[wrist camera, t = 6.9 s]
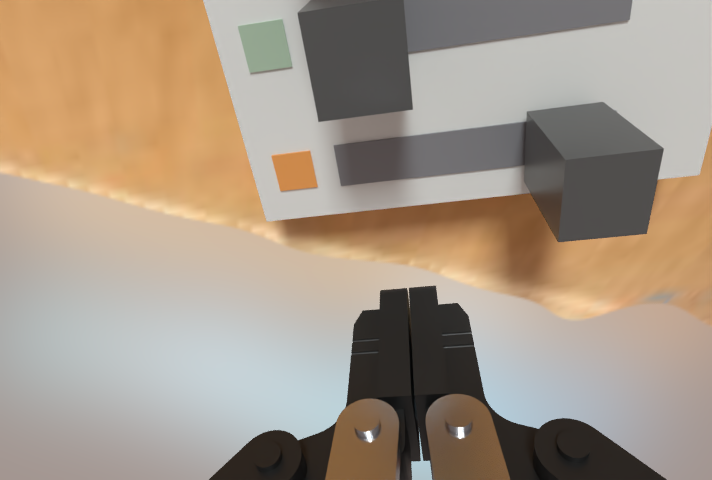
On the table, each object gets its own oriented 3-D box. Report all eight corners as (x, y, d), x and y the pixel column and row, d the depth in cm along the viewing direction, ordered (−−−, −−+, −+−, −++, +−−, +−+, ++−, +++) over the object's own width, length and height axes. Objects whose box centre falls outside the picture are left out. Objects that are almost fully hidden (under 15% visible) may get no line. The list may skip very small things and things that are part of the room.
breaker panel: (761, -315, 16) (1085, -526, 8) (666, 149, 24) (786, 241, 17) (177, -188, 18) (40, -267, 11) (277, 193, 26) (238, 291, 19)
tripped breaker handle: (603, 101, 19) (663, 148, 15) (594, 173, 21) (646, 233, 17) (526, 111, 20) (565, 159, 16) (524, 181, 21) (558, 242, 17)
